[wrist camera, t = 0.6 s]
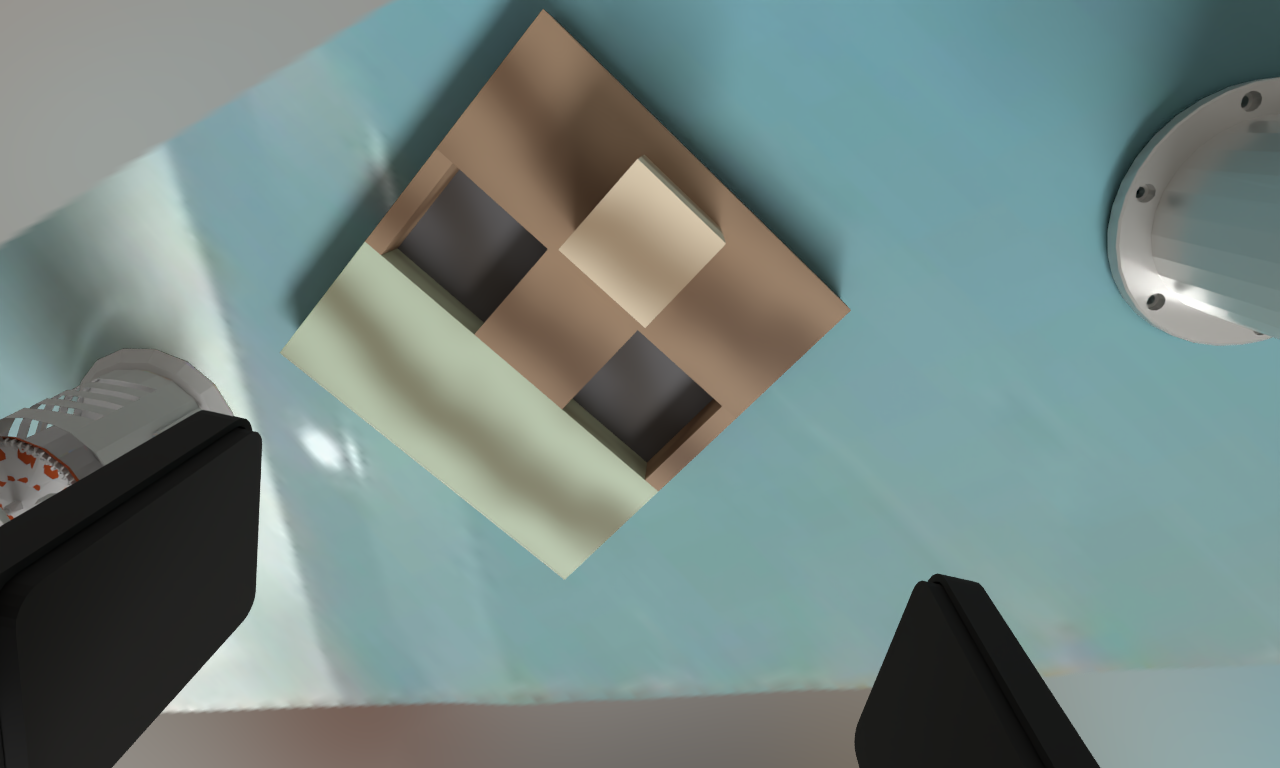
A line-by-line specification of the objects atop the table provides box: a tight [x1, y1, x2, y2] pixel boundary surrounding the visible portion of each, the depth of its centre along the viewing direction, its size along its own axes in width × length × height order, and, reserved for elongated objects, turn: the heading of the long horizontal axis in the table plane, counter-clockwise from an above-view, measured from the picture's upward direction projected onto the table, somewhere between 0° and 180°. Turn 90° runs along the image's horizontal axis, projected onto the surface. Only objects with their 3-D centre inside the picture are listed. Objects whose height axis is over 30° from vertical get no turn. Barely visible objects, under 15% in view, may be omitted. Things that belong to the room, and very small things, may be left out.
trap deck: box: [280, 9, 851, 580], centre depth 38 cm, size 22×20×2 cm
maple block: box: [559, 155, 726, 328], centre depth 33 cm, size 5×5×5 cm
